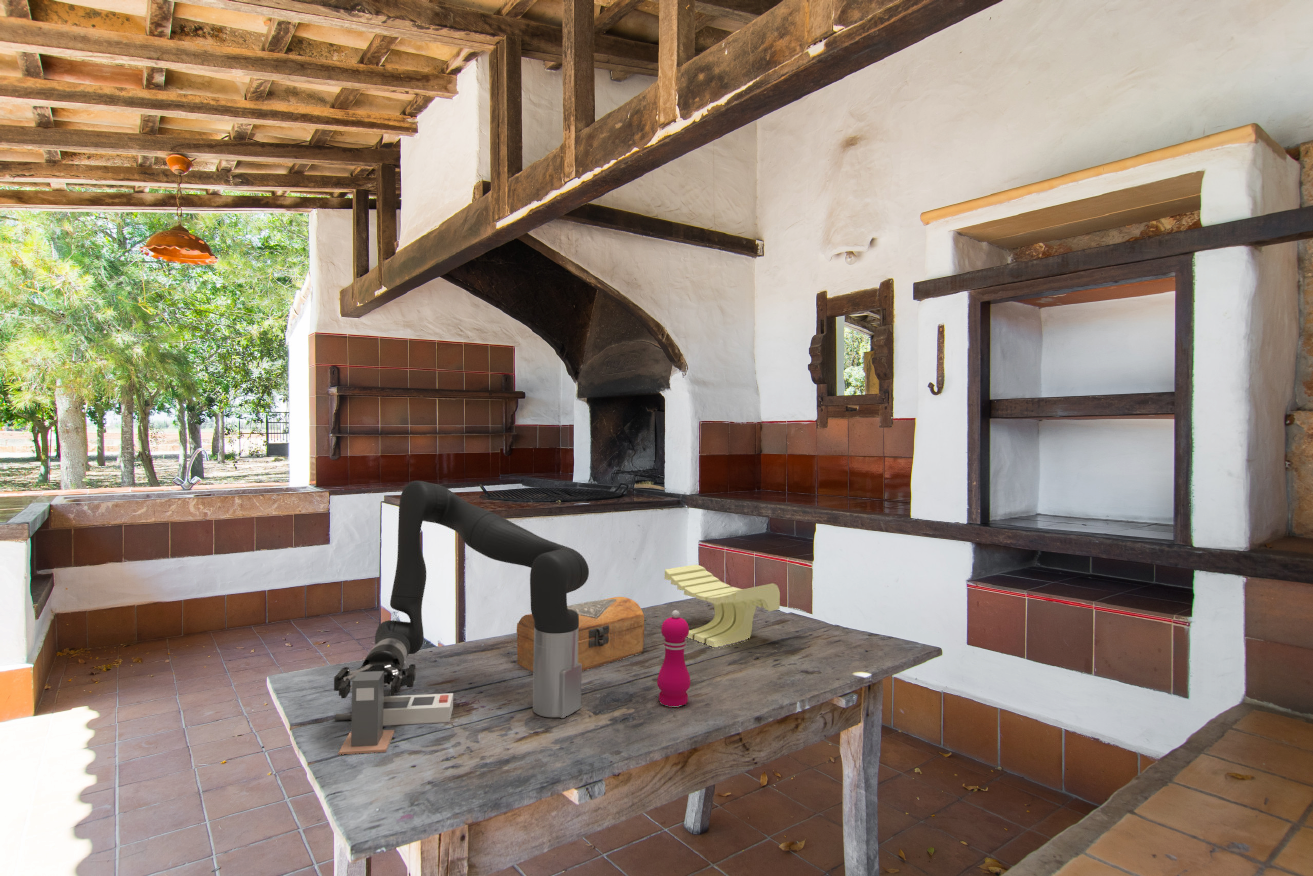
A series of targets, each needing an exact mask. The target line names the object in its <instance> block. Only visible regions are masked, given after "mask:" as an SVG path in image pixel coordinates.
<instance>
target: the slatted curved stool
mask: <svg viewBox="0 0 1313 876" xmlns="http://www.w3.org/2000/svg"><path fill="white" fill-rule="evenodd" d="M664 580H666V581H670V585H673V586H677V587H676V589H677V590H679V591H683V595H685V596H688V597H691V598H695V599H698V600H701V601H707V602H708V603H711V604H712V605H713V608H714V617H713V618H712V620H711V621H709V622H708V623H706V624H704V625H702V626H698V627H696V628H693V629H689V634H688V636H687V637H688V638H691V639H694V640H697V641H699V642H702V643H706V644H707V645H710V646H712V647H718V646H723V645H726V644H731V643H735V642H738V641H741V640H745V639H748V638H749V639H750V638H751V636H752V632H753V631H752V630H753V621H754V616H755V612H756V610H757V607H758V608H763V609H764V610H766V611H768V612H772V611H778V610H781V609H780V606H781V605H780V603H781V602H780V600H781V599H780V598H781V593H780V588H779V586H778V585H777V584H776V583H773V582H772V583H768V584H762V585H759V586H757V585H756V586H752V587H749V588H743V589H742V588H739V587H735V586H732V585H729V584H727V583H725V582H722V581H721V580H720V579H719V578H718V577H715V576H714V574H713V573H711V572H710V571H707V568H705V567H704V566H701V565H699V564H693V565H692V564H691V565H685V566H684V565H683V566H678V567H672V568H666V569H664ZM694 640H693V641H694ZM706 644H705V645H706Z"/></svg>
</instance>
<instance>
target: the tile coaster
mask: <svg viewBox="0 0 1313 876" xmlns="http://www.w3.org/2000/svg"><path fill="white" fill-rule="evenodd" d="M394 734H395V729H383V735H382V737H381V739H380V741H379V743H378V745H377V746H359V747H351V731H350V732H349V733H348V734H347V736H346V738H345V740H344V742H343V743H342V745H341V747H340V749H339V750H338V756H342V755H343V756H345V755H344V754H347V755H359V753H360V754H361V753H364V754H377V753H378V752H380V753H386V752H387V751H388V749H389V746H390V743H391V741H392V739H393V737H394ZM371 752H372V753H371ZM374 752H375V753H374ZM355 753H356V754H355ZM341 754H342V755H341Z"/></svg>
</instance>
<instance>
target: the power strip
mask: <svg viewBox="0 0 1313 876" xmlns="http://www.w3.org/2000/svg"><path fill="white" fill-rule="evenodd" d="M453 710H454V693H450V692H449V693H448V692H447V693H430V694H429V693H428V694H410V695H407V694H406V695H395V696H391V695H388V696H384V700H383V727H384V726H398V725H399V726H400V725H419V724H421V725H422V724H434V723H435V724H436V723H438V724H439V723H450V721H451V716H452V713H453ZM334 720H335V721H349V720H350V721H352V712H348V713H346V712H345V713H343V712H342V713H335V716H334Z"/></svg>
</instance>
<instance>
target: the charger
mask: <svg viewBox="0 0 1313 876" xmlns="http://www.w3.org/2000/svg"><path fill="white" fill-rule="evenodd" d="M351 682H352V684H351V685H352V690H351V713H352V720H351V725H350V726H351V730H350V732H351V747H359V746H377V745H378V743H379V741H380V739H381V737H382V735H383V730H384V726H383V700H384V697H385V696H384V694H385V693H384V692H385V690H384V689H385V687H384V671H373V672H358V674H357V675H356V676H355V678H354V679H353V680H351Z"/></svg>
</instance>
